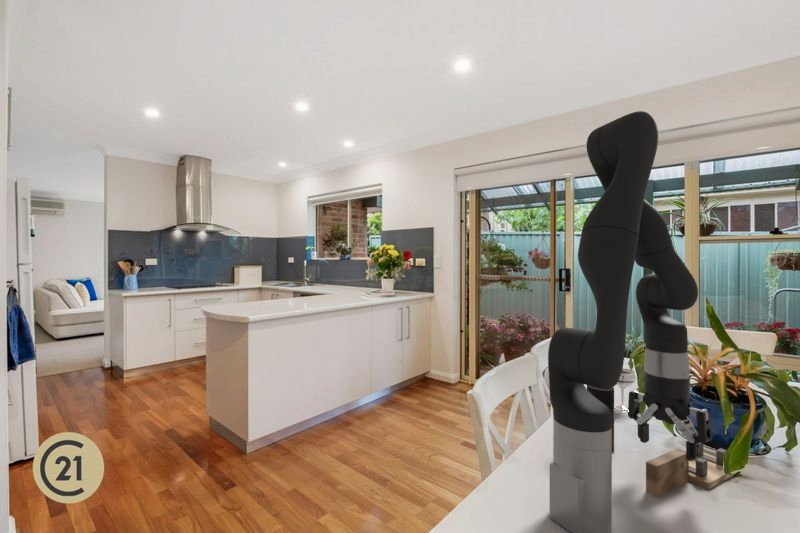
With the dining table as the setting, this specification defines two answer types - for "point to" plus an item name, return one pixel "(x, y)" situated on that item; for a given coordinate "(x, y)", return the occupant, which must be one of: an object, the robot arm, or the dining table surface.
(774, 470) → the dining table surface
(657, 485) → the brown block
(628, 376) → the wineglass
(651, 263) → the robot arm
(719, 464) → the wooden base with pegs
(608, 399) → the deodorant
